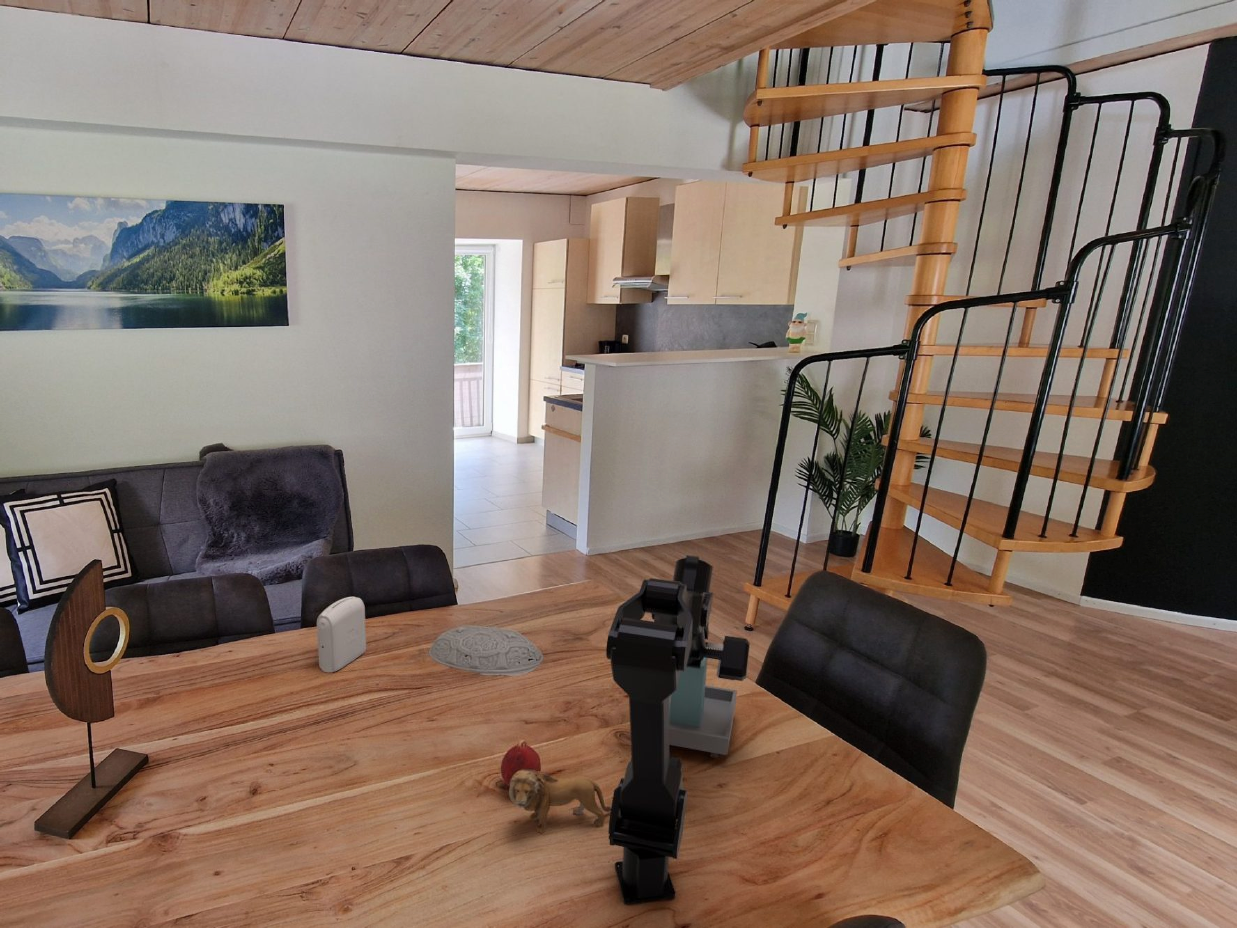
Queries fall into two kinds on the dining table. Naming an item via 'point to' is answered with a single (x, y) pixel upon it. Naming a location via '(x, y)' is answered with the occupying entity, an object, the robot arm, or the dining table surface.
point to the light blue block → (689, 696)
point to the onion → (519, 761)
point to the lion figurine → (554, 795)
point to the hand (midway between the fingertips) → (691, 667)
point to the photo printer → (341, 634)
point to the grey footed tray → (708, 724)
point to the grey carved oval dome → (486, 651)
